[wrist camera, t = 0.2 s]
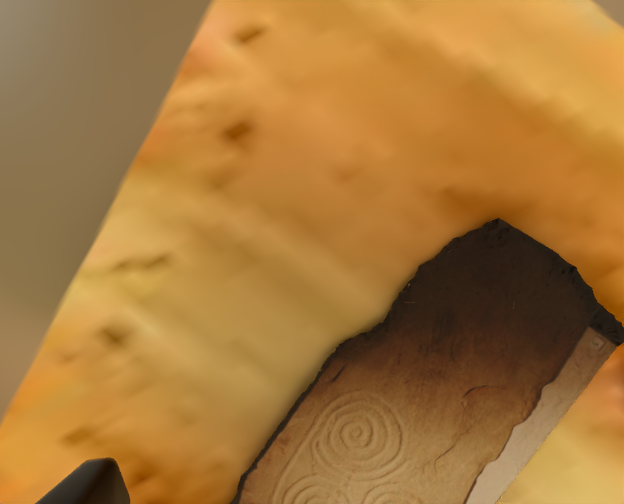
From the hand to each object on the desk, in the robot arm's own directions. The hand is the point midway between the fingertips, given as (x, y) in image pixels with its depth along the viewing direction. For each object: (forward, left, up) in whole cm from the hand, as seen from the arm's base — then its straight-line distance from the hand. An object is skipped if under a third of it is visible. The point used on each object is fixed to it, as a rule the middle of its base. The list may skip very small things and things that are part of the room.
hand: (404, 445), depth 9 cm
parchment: (-8, -6, -15) cm, 18 cm away
